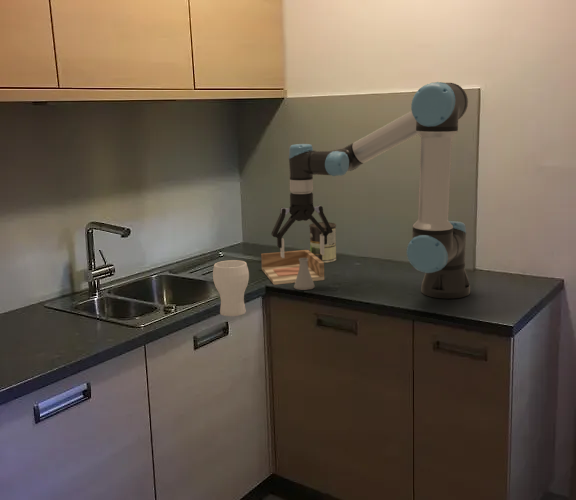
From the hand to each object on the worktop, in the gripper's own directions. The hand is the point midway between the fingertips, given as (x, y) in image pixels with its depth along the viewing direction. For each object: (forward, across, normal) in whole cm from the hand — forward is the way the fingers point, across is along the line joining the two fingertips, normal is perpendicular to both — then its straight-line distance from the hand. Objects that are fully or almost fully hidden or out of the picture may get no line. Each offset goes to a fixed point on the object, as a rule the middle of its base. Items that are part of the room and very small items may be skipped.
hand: (302, 255), depth 220 cm
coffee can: (+11, -17, -36) cm, 41 cm away
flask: (+11, 0, 0) cm, 11 cm away
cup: (+11, +27, +19) cm, 35 cm away
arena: (+11, 0, -18) cm, 21 cm away
